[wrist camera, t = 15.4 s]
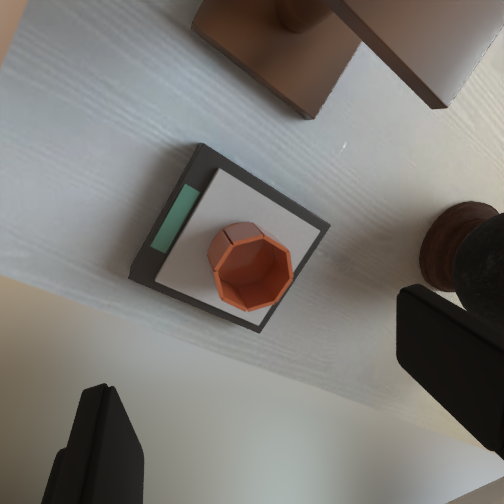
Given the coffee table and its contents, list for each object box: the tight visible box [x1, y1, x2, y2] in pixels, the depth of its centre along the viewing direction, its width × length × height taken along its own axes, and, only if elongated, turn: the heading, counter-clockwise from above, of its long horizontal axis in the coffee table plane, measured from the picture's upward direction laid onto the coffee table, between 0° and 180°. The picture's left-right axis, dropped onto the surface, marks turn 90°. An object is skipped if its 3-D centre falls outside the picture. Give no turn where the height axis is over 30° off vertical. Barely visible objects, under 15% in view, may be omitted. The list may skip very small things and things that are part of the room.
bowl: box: [207, 221, 294, 312], centre depth 27 cm, size 6×6×4 cm
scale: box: [128, 143, 331, 333], centre depth 30 cm, size 14×13×3 cm
